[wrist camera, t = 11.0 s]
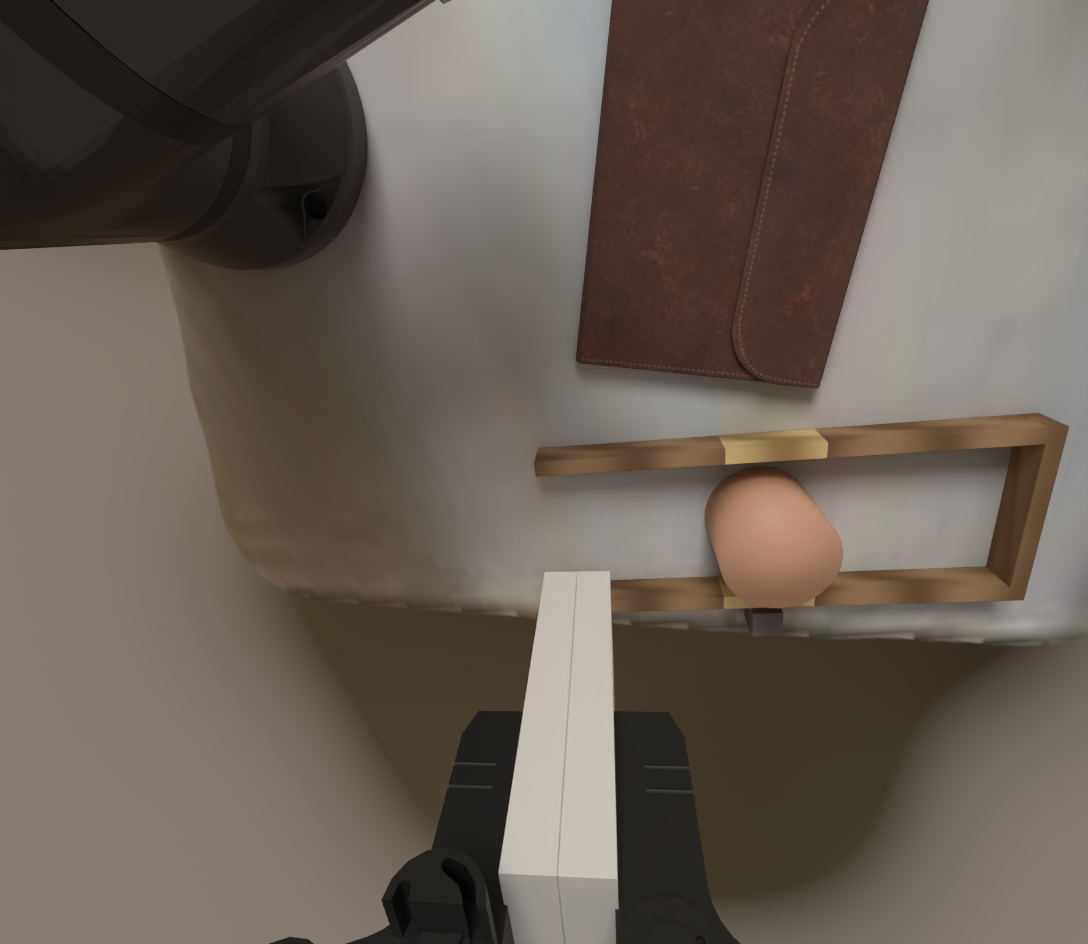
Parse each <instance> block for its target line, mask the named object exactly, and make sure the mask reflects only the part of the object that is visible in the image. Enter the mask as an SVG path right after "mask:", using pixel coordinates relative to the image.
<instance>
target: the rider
mask: <svg viewBox="0 0 1088 944" xmlns="http://www.w3.org/2000/svg"><path fill="white" fill-rule="evenodd" d="M705 524H706V528H707V531H708V534H709V537H710V540H711V543H712V546H713V549H714V552H715V555H716V558H717V561H718V565H719V568H720V571H721V574H722V577H723V579H724V581H725V583H726V585H727V586H728V587H729V589H730V590H731V591H732V592H733V593H734V594H735V595H736V596H738V597H739V598H741V599H742V600H744V601H746V602H748V603H750V604H753V605H756V606H760V607H765V608H787V607H792V606H796V605H799V604H802V603H805V602H807V601H809V600H811V599H813V598H815V597H816V596H818V595H819V594H821V593H822V592H823V591H824V590H825V589H827V588H828V586H829V585H830V584H831V583H832V582H833V580H834V579H835V578H836V576H837V574H838V572H839V570H840V567H841V564H842V558H843V549H842V543H841V540H840V537H839V535H838V534H837V532H836V530H835V529H834V528H833V526H832V525H831V524H830V522H829V521H828V520H827V518H826V517H825V516H824V514H823V513H822V512H821V510H820V509H819V508H818V506H817V505H816V503H815V502H814V501H813V499H812V498H811V497H810V495H809V494H808V493H807V491H806V490H805V489H804V487H803V486H802V485H801V483H800V482H799V481H798V480H797V479H795V478H794V477H793V476H791V475H790V474H788V473H786V472H784V471H781V470H778V469H774V468H766V467H757V468H750V469H746V470H742V471H740V472H737V473H735V474H733V475H731V476H729V477H728V478H726V479H725V480H724V481H722V482H721V483H720V484H719V485H718V486H717V487H716V488H715V490H714V491H713V492H712V494H711V496H710V497H709V499H708V502H707V505H706V509H705Z"/></svg>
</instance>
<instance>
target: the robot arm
mask: <svg viewBox="0 0 1088 944" xmlns="http://www.w3.org/2000/svg"><path fill="white" fill-rule="evenodd" d="M434 1H435V0H0V250H8V249H28V248H47V247H68V246H86V245H107V244H126V243H147V242H157V243H159V244H162V245H164V246H166V247H169V248H171V249H174V250H176V251H179V252H181V253H183V254H186V255H188V256H191V257H193V258H196V259H198V260H201V261H203V262H206V263H209V264H212V265H216V266H220V267H225V268H231V269H239V270H260V269H269V268H277V267H283V266H288V265H291V264H295V263H298V262H300V261H303V260H305V259H307V258H309V257H311V256H313V255H314V254H316V253H318V252H319V251H320V250H322V249H323V248H324V247H325V246H327V245H328V244H329V243H330V242H331V241H332V240H333V239H334V238H335V237H336V236H337V234H338V233H339V232H340V231H341V229H342V228H343V227H344V225H345V224H346V222H347V220H348V219H349V217H350V215H351V213H352V211H353V209H354V207H355V204H356V202H357V199H358V197H359V193H360V190H361V186H362V182H363V177H364V171H365V162H366V131H365V122H364V116H363V110H362V106H361V102H360V97H359V94H358V91H357V88H356V84H355V82H354V79H353V76H352V74H351V71H350V69H349V67H348V64H347V62H346V60H347V59H349V58H350V57H352V56H353V55H355V54H356V53H358V52H359V51H361V50H362V49H364V48H365V47H367V46H368V45H370V44H371V43H373V42H374V41H376V40H377V39H379V38H380V37H382V36H383V35H385V34H386V33H388V32H389V31H391V30H392V29H394V28H395V27H397V26H398V25H400V24H401V23H403V22H404V21H406V20H407V19H409V18H410V17H412V16H413V15H415V14H416V13H418V12H419V11H421V10H422V9H424V8H425V7H427V6H428V5H430V4H431V3H432V2H434ZM440 1H441V2H442V3H443V4H445V3H447V2H449V1H451V0H440ZM612 640H613V639H612V612H611V585H610V571H576V572H545V574H544V581H543V587H542V594H541V600H540V607H539V613H538V620H537V626H536V633H535V639H534V645H533V652H532V658H531V665H530V671H529V678H528V685H527V691H526V698H525V704H524V710H523V712H514V711H513V712H512V711H479V712H478V713H477V714H476V716H475V717H474V718H473V720H472V721H471V723H470V724H469V725H468V727H467V728H466V729H465V731H464V732H463V733H462V736H461V740H460V744H459V748H458V751H457V755H456V759H455V766H454V767H453V771H452V774H451V778H450V782H449V789H447V793H446V797H445V801H444V804H443V808H442V812H441V816H440V820H439V824H438V827H437V831H436V835H435V839H434V842H433V846H432V850H428V851H426V852H424V853H422V854H420V855H418V856H417V857H415V858H413V859H411V860H409V861H408V862H407V863H406V864H405V865H404V866H403V867H402V868H401V869H400V870H399V871H398V872H397V874H396V875H395V876H394V877H393V878H392V879H391V881H390V883H389V886H388V888H387V890H386V892H385V894H384V896H383V898H382V903H383V906H384V909H385V912H386V915H387V918H388V921H389V923H390V925H389V926H387V927H386V928H385V929H383V930H381V931H379V932H377V933H374V934H372V935H370V936H368V937H365V938H362V939H359V940H356V941H353V942H350V943H347V944H741V943H739V942H738V941H737V940H736V939H735V938H734V937H733V936H732V935H731V933H730V932H729V931H728V930H727V928H726V927H725V926H724V925H723V923H722V922H721V920H720V918H719V916H718V914H717V912H716V910H715V908H714V906H713V904H712V900H711V897H710V893H709V889H708V885H707V878H706V871H705V865H704V858H703V852H702V846H701V840H700V833H699V827H698V821H697V815H696V808H695V801H694V796H693V789H692V783H691V776H690V771H689V763H688V757H687V750H686V744H685V738H684V735H683V734H682V732H681V731H680V729H679V727H678V726H677V724H676V723H675V721H674V720H673V718H672V716H671V715H670V713H669V712H620V711H619V712H617V711H615V708H614V669H613V643H612V642H613V641H612ZM270 944H313V943H312V942H311V941H310V940H308V939H302V938H294V937H288V938H286V939H282V940H279V941H276V942H273V943H270Z"/></svg>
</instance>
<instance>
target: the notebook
mask: <svg viewBox="0 0 1088 944" xmlns="http://www.w3.org/2000/svg"><path fill="white" fill-rule="evenodd" d="M928 2H929V0H612V6H611V16H610V26H609V36H608V46H607V56H606V66H605V76H604V86H603V96H602V106H601V116H600V126H599V136H598V145H597V155H596V165H595V175H594V185H593V195H592V205H591V215H590V225H589V235H588V245H587V255H586V265H585V275H584V285H583V294H582V304H581V314H580V324H579V334H578V344H577V354H576V361H577V362H579V363H583V364H593V365H603V366H613V367H623V368H633V369H643V370H652V371H662V372H672V373H682V374H692V375H702V376H712V377H722V378H732V379H742V380H752V381H762V382H769V383H774V384H781V385H792V386H802V387H812V388H818V387H819V386H820V382H821V379H822V375H823V372H824V368H825V365H826V361H827V358H828V354H829V351H830V347H831V344H832V340H833V337H834V333H835V330H836V326H837V323H838V319H839V315H840V312H841V308H842V305H843V301H844V298H845V294H846V291H847V287H848V284H849V280H850V277H851V273H852V270H853V266H854V263H855V259H856V256H857V252H858V248H859V245H860V241H861V238H862V234H863V231H864V227H865V224H866V220H867V217H868V213H869V210H870V206H871V203H872V199H873V196H874V192H875V189H876V185H877V182H878V178H879V174H880V171H881V167H882V164H883V160H884V157H885V153H886V150H887V146H888V143H889V139H890V136H891V132H892V129H893V125H894V122H895V118H896V115H897V111H898V107H899V104H900V100H901V97H902V93H903V90H904V86H905V83H906V79H907V76H908V72H909V69H910V65H911V62H912V58H913V55H914V51H915V48H916V44H917V40H918V37H919V33H920V30H921V26H922V23H923V19H924V16H925V12H926V9H927V5H928Z"/></svg>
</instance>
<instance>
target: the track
mask: <svg viewBox="0 0 1088 944" xmlns="http://www.w3.org/2000/svg"><path fill="white" fill-rule="evenodd" d="M1068 429H1069V426H1067V425H1064V424H1062V423H1060V422H1058V421H1055V420H1053V419H1051V418H1049V417H1046V416H1044V415H1042V414H1039V413H1034V414H1020V415H1006V416H992V417H977V418H963V419H949V420H935V421H921V422H907V423H892V424H878V425H864V426H850V427H836V428H822V429H807V430H793V431H779V432H765V433H751V434H736V435H722V436H708V437H694V438H680V439H666V440H651V441H637V442H623V443H609V444H595V445H581V446H566V447H552V448H538V452H537V455H536V458H535V461H534V465H535V473H536V476H552V475H568V474H583V473H599V472H615V471H630V470H646V469H662V468H678V467H693V466H709V465H725V464H740V463H756V462H772V461H788V460H803V459H819V458H835V457H850V456H866V455H882V454H898V453H913V452H929V451H945V450H960V449H976V448H992V447H1008V446H1013V451H1012V455H1011V459H1010V464H1009V468H1008V473H1007V477H1006V482H1005V486H1004V491H1003V495H1002V500H1001V504H1000V509H999V513H998V518H997V522H996V527H995V531H994V535H993V540H992V544H991V549H990V553H989V558H988V562H987V567H963V568H936V569H909V570H882V571H855V572H838V574H837V576H836V578H835V579H834V580H833V582H832V583H831V584H830V585H829V586H828V588H827V589H825V590H824V591H823V592H822V593H821V594H819V595H818V596H816V597H815V598H813V599H811V600H809V601H807V602H805V603H802V604H799V605H796V606H792V607H805V606H840V605H874V604H908V603H942V602H977V601H1011V600H1024V597H1025V593H1026V590H1027V586H1028V582H1029V578H1030V574H1031V570H1032V567H1033V563H1034V559H1035V555H1036V551H1037V547H1038V544H1039V540H1040V536H1041V532H1042V528H1043V524H1044V521H1045V517H1046V513H1047V509H1048V505H1049V501H1050V498H1051V494H1052V490H1053V486H1054V482H1055V478H1056V475H1057V471H1058V467H1059V463H1060V459H1061V455H1062V452H1063V448H1064V444H1065V440H1066V436H1067V432H1068ZM610 585H611V612H634V611H668V610H702V609H737V608H745V617H746V620H747V623H748V626H749V629H750V632H751V635H752V637H766V636H782V623H783V612H782V610H781V608H765V607H760V606H756V605H753V604H750V603H748V602H746V601H744V600H742V599H741V598H739V597H738V596H736V595H735V594H734V593H733V592H732V591H731V590H730V589H729V587H728V586H727V585H726V583H725V581H724V579H723V577H722V576H720V577H692V578H665V579H638V580H611V581H610Z"/></svg>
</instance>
